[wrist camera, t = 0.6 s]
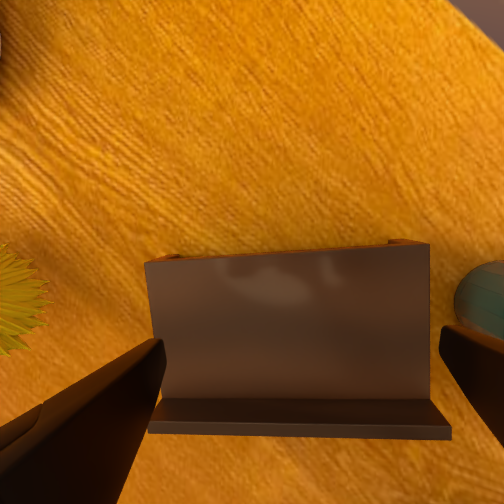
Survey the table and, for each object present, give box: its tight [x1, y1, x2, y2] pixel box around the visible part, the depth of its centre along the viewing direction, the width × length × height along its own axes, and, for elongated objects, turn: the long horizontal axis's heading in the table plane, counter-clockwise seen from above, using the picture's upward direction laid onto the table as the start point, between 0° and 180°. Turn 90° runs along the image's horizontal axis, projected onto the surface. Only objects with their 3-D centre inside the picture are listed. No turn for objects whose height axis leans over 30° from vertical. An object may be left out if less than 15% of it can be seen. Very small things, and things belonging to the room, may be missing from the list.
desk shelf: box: [144, 239, 452, 441], centre depth 20 cm, size 12×20×6 cm, turn 95°
